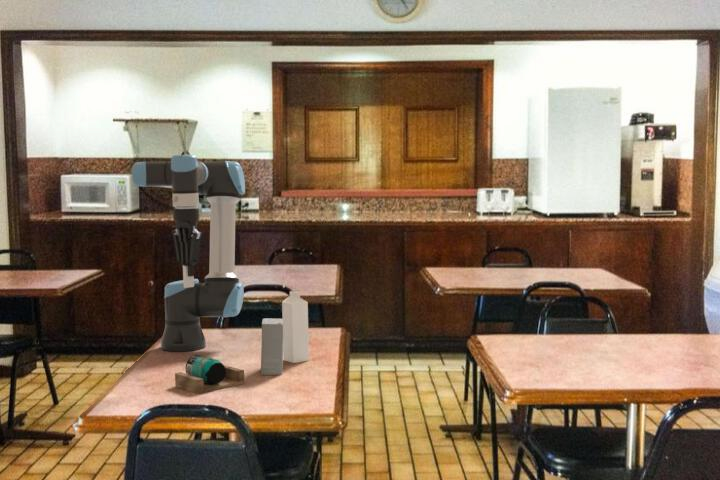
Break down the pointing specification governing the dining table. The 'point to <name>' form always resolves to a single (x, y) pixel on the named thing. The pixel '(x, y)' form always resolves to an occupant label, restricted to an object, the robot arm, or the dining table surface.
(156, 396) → the dining table surface
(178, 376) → the cradle
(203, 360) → the beverage can
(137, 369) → the dining table surface
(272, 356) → the skincare box
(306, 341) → the milk
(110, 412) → the dining table surface
